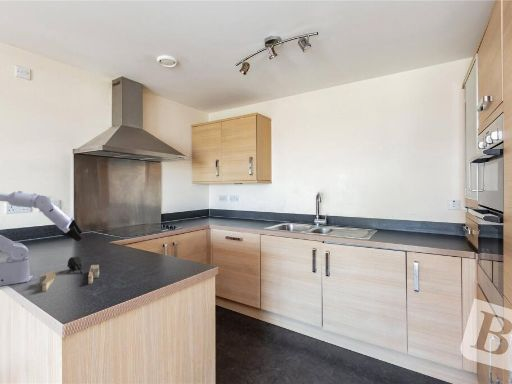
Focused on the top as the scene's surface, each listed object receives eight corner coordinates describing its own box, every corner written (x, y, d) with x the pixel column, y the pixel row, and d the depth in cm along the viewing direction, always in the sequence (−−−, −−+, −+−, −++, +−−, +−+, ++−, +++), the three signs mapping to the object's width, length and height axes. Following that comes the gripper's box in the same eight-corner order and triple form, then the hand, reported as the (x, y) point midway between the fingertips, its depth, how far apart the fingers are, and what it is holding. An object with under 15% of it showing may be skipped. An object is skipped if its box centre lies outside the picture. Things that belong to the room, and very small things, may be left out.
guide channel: (35, 292, 100) (35, 282, 99) (46, 278, 115) (45, 269, 115) (97, 282, 109) (97, 272, 109) (99, 270, 125) (99, 261, 125)
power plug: (75, 273, 118) (67, 254, 125) (72, 285, 121) (64, 266, 127) (89, 270, 123) (81, 252, 129) (86, 281, 126) (78, 263, 132)
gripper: (64, 215, 118) (88, 236, 124) (66, 206, 130) (87, 226, 136) (49, 226, 116) (73, 247, 122) (52, 216, 128) (74, 235, 134)
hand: (80, 236), depth 129 cm, fingers open, 7 cm apart
